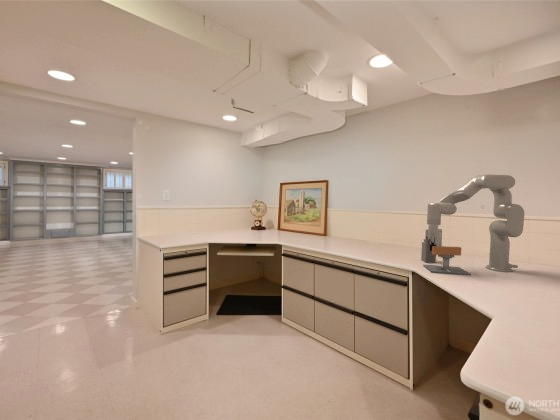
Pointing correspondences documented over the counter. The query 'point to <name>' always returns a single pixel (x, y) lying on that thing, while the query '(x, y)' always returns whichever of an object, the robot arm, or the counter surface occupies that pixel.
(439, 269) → the post board
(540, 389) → the counter surface
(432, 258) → the perfume bottle
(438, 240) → the hard drive box
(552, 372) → the counter surface
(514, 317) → the counter surface
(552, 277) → the counter surface
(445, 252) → the orange brown block
